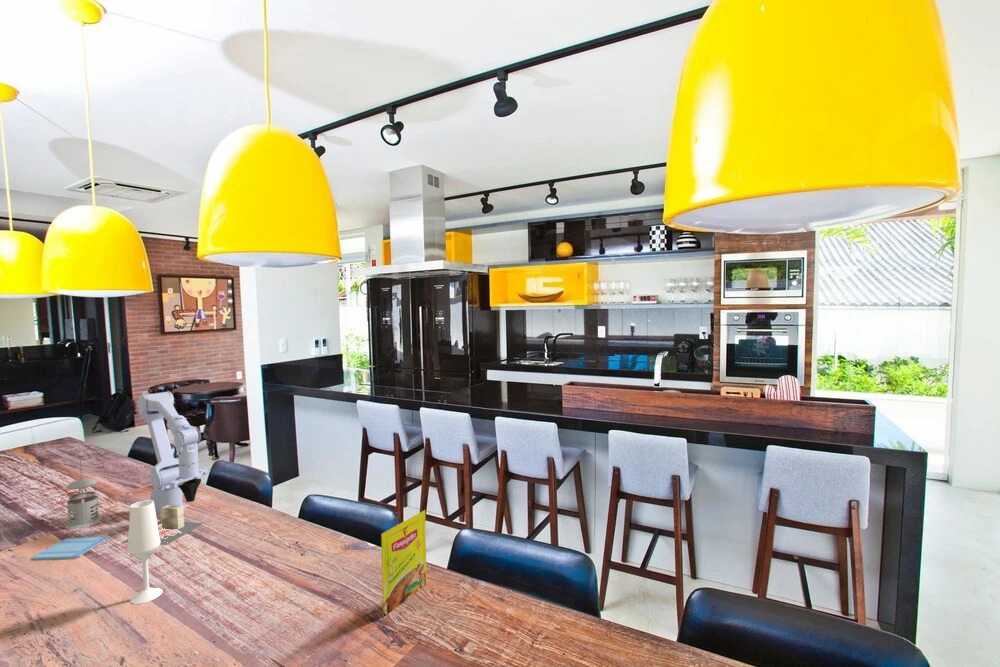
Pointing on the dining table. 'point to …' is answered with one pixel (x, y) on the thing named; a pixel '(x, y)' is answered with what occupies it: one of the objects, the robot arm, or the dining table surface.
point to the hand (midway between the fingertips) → (190, 501)
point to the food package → (403, 561)
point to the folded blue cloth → (69, 548)
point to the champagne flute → (143, 544)
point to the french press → (82, 504)
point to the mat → (187, 528)
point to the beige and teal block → (172, 517)
